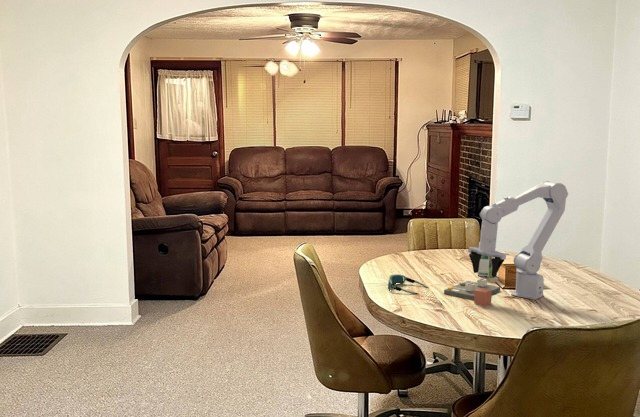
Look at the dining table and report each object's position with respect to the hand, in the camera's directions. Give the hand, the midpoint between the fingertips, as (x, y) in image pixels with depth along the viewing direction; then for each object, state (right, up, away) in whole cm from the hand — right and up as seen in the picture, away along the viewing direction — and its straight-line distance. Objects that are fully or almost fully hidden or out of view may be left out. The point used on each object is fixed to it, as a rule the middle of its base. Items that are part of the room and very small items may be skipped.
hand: (484, 274), depth 226 cm
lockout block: (-2, -10, -6) cm, 12 cm away
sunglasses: (-27, -8, +14) cm, 31 cm away
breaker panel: (-3, -8, +8) cm, 11 cm away
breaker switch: (+2, -5, +11) cm, 13 cm away
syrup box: (+10, -4, +34) cm, 36 cm away
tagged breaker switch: (-4, -6, +5) cm, 9 cm away
